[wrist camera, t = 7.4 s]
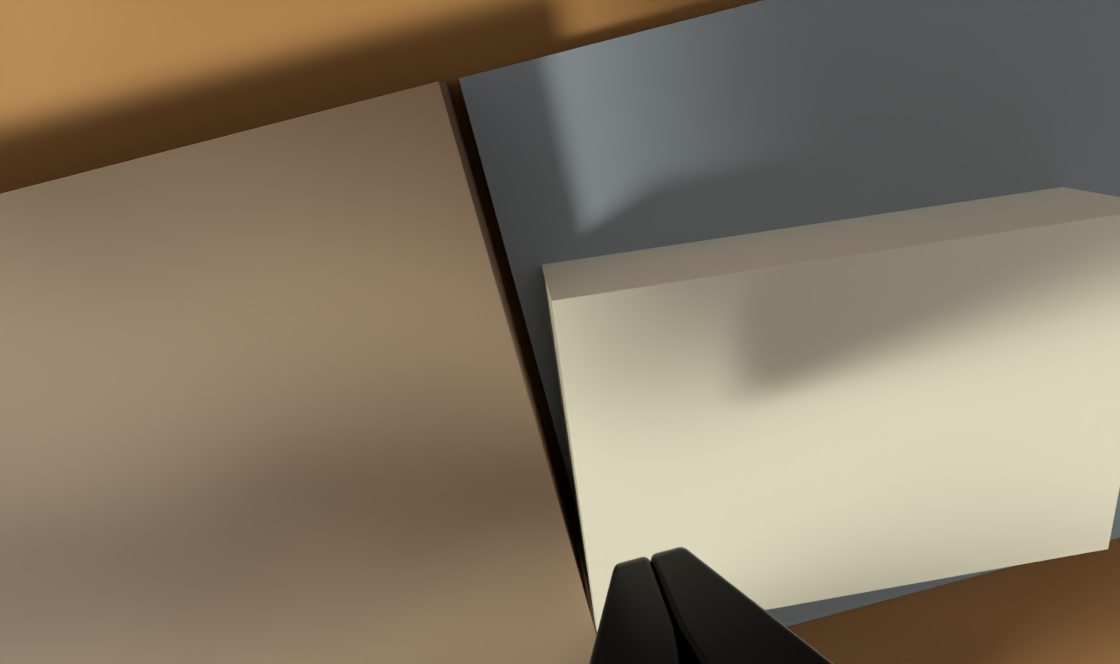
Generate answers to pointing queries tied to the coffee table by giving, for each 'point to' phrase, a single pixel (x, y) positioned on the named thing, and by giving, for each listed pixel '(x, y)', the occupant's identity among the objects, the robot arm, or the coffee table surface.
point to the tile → (848, 396)
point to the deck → (276, 410)
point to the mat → (791, 135)
